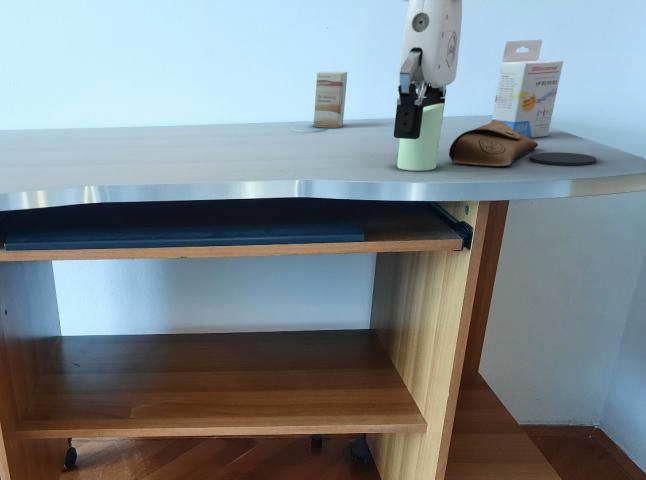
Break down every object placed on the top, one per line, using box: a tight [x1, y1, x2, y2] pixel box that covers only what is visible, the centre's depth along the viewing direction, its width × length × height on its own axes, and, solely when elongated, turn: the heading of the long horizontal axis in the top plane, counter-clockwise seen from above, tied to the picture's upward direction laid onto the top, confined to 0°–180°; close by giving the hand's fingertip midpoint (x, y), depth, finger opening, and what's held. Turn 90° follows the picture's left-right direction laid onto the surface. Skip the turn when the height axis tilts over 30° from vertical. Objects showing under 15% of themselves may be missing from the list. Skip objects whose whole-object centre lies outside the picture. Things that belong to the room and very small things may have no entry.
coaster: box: [529, 151, 597, 167], centre depth 88 cm, size 8×8×1 cm
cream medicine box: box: [313, 70, 348, 129], centre depth 125 cm, size 5×4×10 cm
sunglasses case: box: [448, 120, 539, 167], centre depth 92 cm, size 18×7×7 cm
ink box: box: [491, 39, 564, 139], centre depth 104 cm, size 8×5×15 cm, turn 114°
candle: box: [396, 103, 445, 172], centre depth 85 cm, size 5×5×8 cm
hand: (417, 133), depth 85 cm, fingers open, 9 cm apart
